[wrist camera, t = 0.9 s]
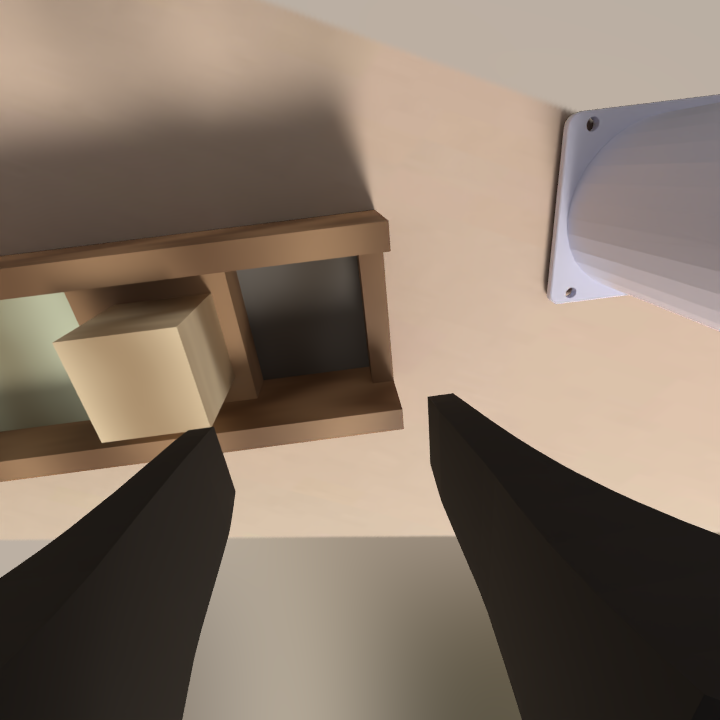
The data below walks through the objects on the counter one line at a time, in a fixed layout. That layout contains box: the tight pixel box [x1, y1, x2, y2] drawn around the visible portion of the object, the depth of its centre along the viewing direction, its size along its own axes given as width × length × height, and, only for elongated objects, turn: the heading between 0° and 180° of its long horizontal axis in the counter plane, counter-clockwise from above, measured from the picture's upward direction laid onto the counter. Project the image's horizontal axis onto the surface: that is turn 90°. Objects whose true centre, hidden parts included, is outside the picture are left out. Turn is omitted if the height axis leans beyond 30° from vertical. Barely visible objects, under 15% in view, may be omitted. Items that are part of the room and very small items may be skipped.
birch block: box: [52, 293, 235, 443], centre depth 15 cm, size 4×4×4 cm
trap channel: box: [0, 210, 404, 482], centre depth 17 cm, size 26×8×4 cm, turn 96°
